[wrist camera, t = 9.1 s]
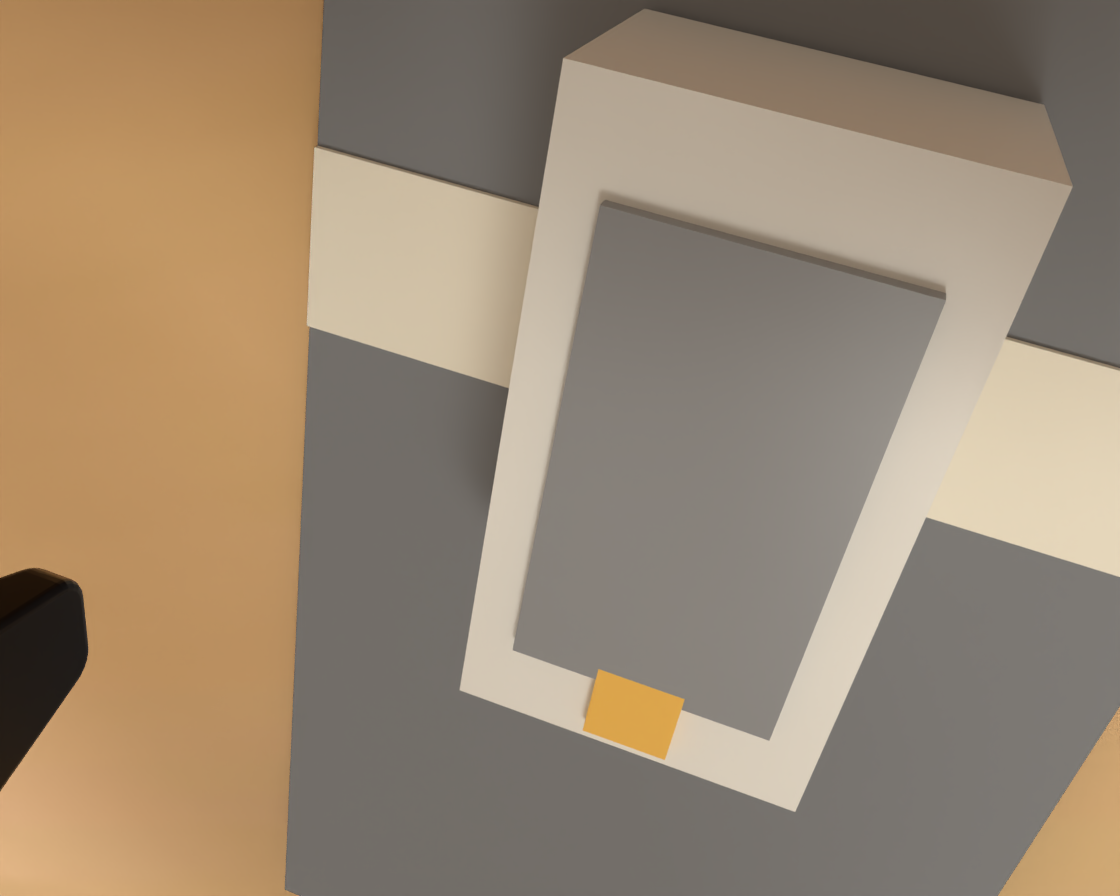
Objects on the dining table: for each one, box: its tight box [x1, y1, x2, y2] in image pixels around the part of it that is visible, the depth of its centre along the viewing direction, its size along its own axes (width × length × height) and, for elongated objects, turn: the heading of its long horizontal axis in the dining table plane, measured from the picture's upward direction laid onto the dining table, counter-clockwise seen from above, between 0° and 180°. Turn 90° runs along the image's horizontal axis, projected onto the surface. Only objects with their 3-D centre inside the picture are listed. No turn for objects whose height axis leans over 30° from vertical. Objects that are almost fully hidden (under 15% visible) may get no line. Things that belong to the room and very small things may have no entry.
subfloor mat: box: [285, 0, 1120, 896], centre depth 18 cm, size 14×26×1 cm, turn 170°
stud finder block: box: [460, 9, 1073, 812], centre depth 14 cm, size 5×9×4 cm, turn 170°
